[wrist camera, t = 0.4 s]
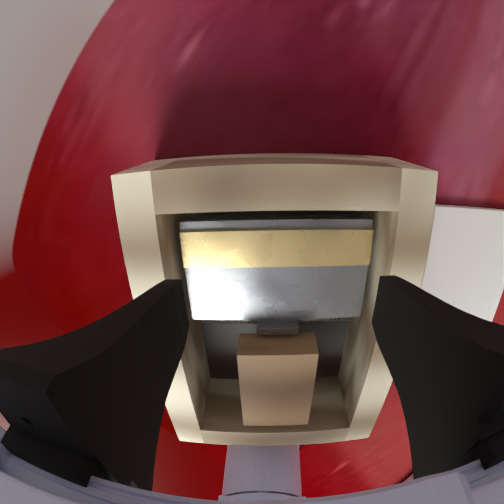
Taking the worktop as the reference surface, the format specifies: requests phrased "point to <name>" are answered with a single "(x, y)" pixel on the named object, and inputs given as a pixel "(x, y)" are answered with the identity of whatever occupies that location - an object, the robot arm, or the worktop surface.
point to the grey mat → (466, 258)
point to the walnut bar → (276, 378)
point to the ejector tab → (276, 268)
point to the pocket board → (326, 333)
